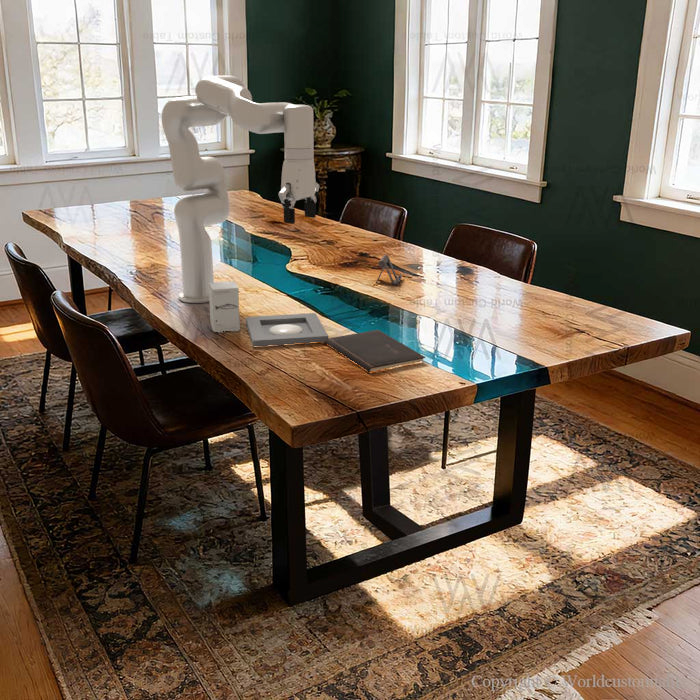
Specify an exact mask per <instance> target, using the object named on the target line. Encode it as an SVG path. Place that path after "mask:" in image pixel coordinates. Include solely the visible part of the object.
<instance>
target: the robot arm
mask: <svg viewBox="0 0 700 700" xmlns="http://www.w3.org/2000/svg"><path fill="white" fill-rule="evenodd" d="M194 92H195V93H194V94H195V95H191V96H187V95H186V96H180V97H179V96H178V97H175V98H174V97H173V98H172V99H170V100H168V101H167V102H166V103H165V104H164V106H163V109H162V111H161V125H162V129H163V132H164V133H163V134H164V135H165V137H166V141H167V144H168V149H169V156H170V162H171V168H172V173H173V179H174V183H175V186H176V188H177V189H178V190H179V191H182V192H196V191H202V190H203V194H202V193H201V194H195V195H189V196H188V195H187V196H185V197H183V198H181V199H179V200H178V201H177V202H176V203H175V206H174V218H175V222H176V226H177V229H178V237H179V248H180V261H181V262H180V264H181V277H182V278H181V279H182V291H181V292H180V293H178V300H180V301H181V302H183V303H190V304H203V303H210V302H209V283H215V279H214V278H215V277H214V265H213V264H214V260H213V245H212V244H213V243H212V240H211V239H212V238H211V236H210V235H209V233H208V231H207V230H206V228H205V227H208V226H209V227H210V226H213V225H217V224H222V223H224V222H226V220H228V218H229V216H230V211H231V210H230V208H231V207H230V201H229V191H228V187H227V186H228V185H227V177H226V172H225V170H224V166H223V165H222V163H221V161H219V160H218V159H217V158H216V157H213V156H201V154H200V150H199V143H198V141H197V138H196V136H194V134H193V133H192V131H191V130H190V129H189V128H195V127H196V128H197V127H210V126H213V127H214V126H216V125H218V124H220V123H221V122H223V121H225V119H226V118H228V117H230V118H231V119H232V122H234V124H235V125H236V126H237V127H239V128H241V129H243V130H246V131H249V132H251V133H255V134H258V135H265V134H266V135H267V134H273V133H277V134H278V133H283V134H284V138H283V139H284V141H283V142H284V160H283V163H282V170H281V184H280V191H279V192H278V197H279V202H280V204H281V207H282V208H283V223H284V224H290V225H291V224H292V225H293V224H296V211H295V210H296V209H295V208H294V207H295V204H296V202H297V201H300V200H305V201H304V217H306V218H312V219H315V218H316V215H317V213H316V211H317V210H316V207H317V206H316V205H317V204H316V203H317V198H318V196H319V189H320V184H319V183H318V182H317V181H316V169H315V159H314V151H315V150H314V146H315V145H314V142H315V140H314V134H315V133H314V109H313V107H312V106H311V105H309V104H307V105H306V104H294V103H291V102H285V101H284V102H283V101H282V102H280V101H279V102H262V103H259V102H254V101H253V96H252V94H251V92H250V90H249V89H248V88H247V87H246V86H245V84H244V82H243V81H242V80H241V79H240V78H239V77H237V76H235V75H208V76H204V77H203V78H201V79H200V80H198V81H197V83H196V85H195V87H194Z"/></svg>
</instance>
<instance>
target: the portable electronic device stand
mask: <svg viewBox="0 0 700 700" xmlns="http://www.w3.org/2000/svg"><path fill="white" fill-rule="evenodd" d="M387 262H388V264H389V266H390V269H391V271H392V274H393V276H394V278H393V277H392V274H391V271H390V269H389V267H388V265H387ZM378 267H380V268H382V269H381V271H380V273H379V275H378V276H377V279H376V282H375V284H377V283H378V281H379V280H380V278H381V276H382V273H383V271H384V269H386V272H387V275H388V277H389V279H390V281H391V284H392V285H393V286H394V287H396V286H398V285H399V283H400V282H401V280H402V278H403V277H402V273H399V275H397V274H396V271H395V270H394V266H393V264H392V261H391V259H390V257H389V255H387V254H384V255H383V256H382V257H381V258H380V260H379V261H378Z"/></svg>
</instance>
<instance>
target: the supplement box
mask: <svg viewBox="0 0 700 700" xmlns="http://www.w3.org/2000/svg"><path fill="white" fill-rule="evenodd" d="M239 297H240V296H239V286H238V285H237V284H236V281H221V282H220V281H217V282H214V283H209V302H208V303H209V318H210V319H209V322H210V327H211V329H212V332H213V331H214V332H218V333H226V332H225V331H231V332H240V331H241V325H240V324H241V323H240V300H239V299H240V298H239ZM239 330H240V331H239ZM223 331H224V332H223ZM214 332H213V333H214Z"/></svg>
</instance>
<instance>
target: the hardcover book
mask: <svg viewBox="0 0 700 700" xmlns="http://www.w3.org/2000/svg"><path fill="white" fill-rule="evenodd" d="M326 344H328V345H330V346H331V347H333V348H334V349H336V350H337V351H338V352H340V353H342V354H343V355H344V356H346V357H347V358H349V359H350V360H352V361H354V362H355V363H357V364H358V365H360V366H361V367H363V368H364V369H366V370H367V371H368V372H370V371H376V370H380V369H385V368H390V367H395V366H399V365H404V364H410V363H415V362H420V361H423V362H424V359H426V356H425V355H423V354H422V353H419V352H418V351H416V350H414V349H412V348H411V347H409V346H407V345H405V344H404V343H402V342H400V341H398V340H396V339H395V338H393V337H391V336H390V335H388V334H386V333H384V332H383V331H381V330H379V329H375V330H368V331H364V332H356V333H352V334H345V335H339V336H333V337H328V339H327V340H326V343H325V345H326Z"/></svg>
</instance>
